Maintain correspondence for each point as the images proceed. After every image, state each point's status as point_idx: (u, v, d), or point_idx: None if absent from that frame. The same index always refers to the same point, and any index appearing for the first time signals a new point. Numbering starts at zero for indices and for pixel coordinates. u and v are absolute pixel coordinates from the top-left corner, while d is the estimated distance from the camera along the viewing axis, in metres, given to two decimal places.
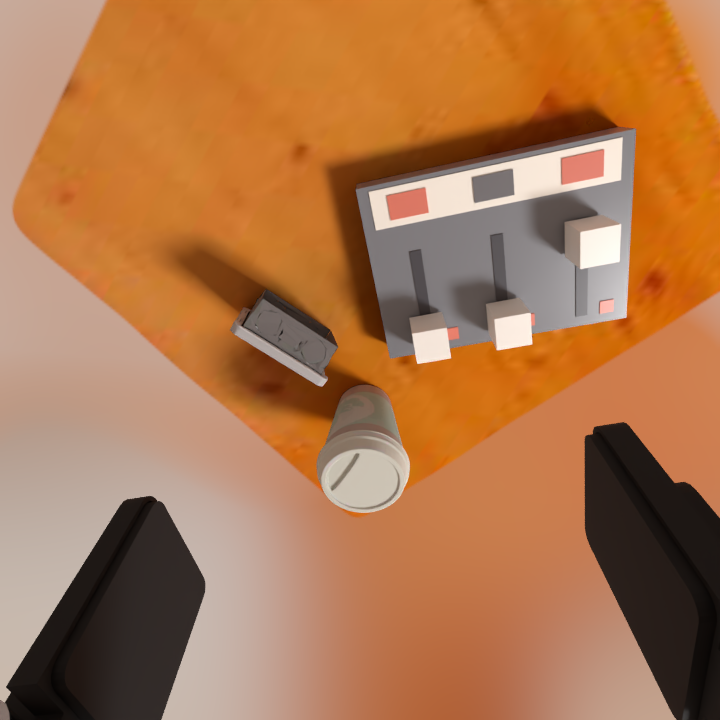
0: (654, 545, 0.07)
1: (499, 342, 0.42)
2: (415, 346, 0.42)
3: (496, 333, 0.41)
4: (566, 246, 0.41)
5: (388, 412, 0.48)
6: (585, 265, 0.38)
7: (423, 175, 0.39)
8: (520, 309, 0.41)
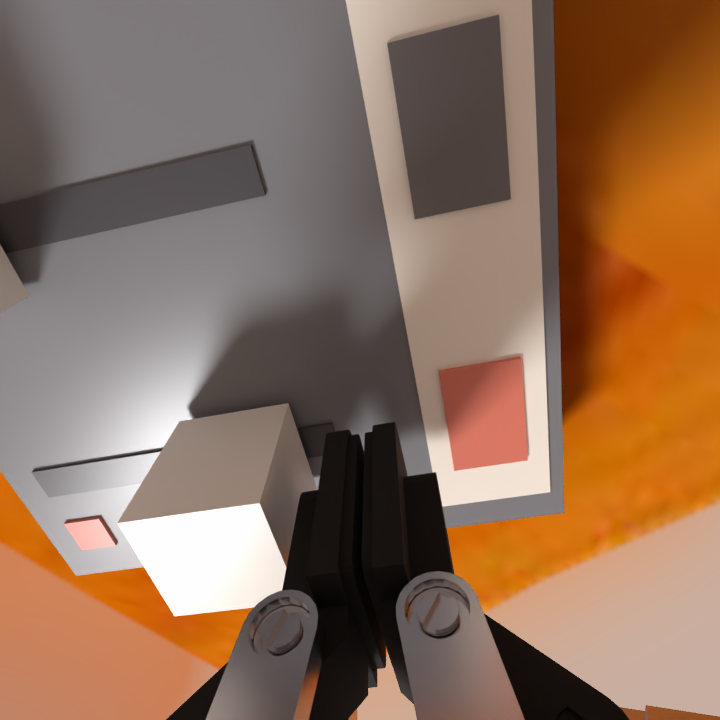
0: None
1: None
2: None
3: None
4: (211, 424, 0.12)
5: None
6: (134, 536, 0.10)
7: None
8: None
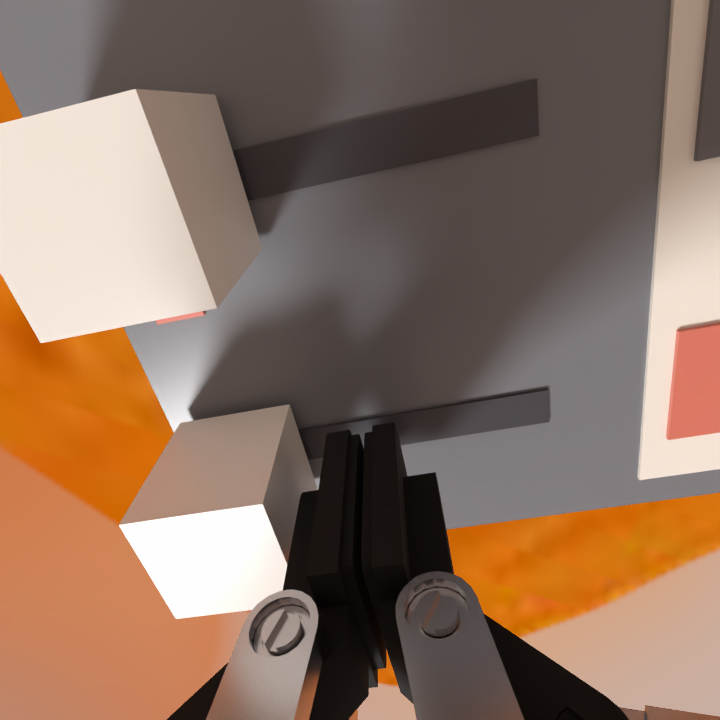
0: None
1: None
2: None
3: (40, 120, 0.06)
4: (212, 426, 0.12)
5: None
6: (136, 538, 0.10)
7: None
8: (221, 254, 0.08)
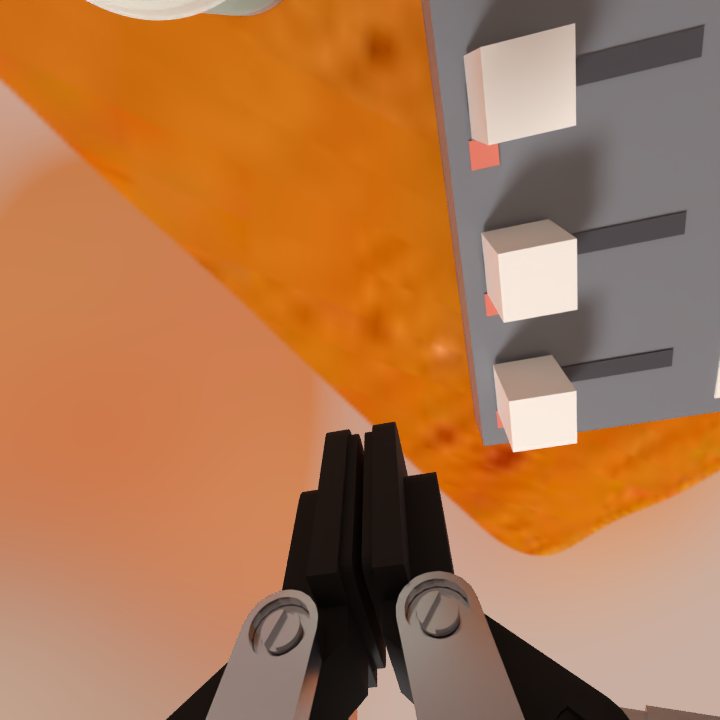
0: None
1: (515, 257, 0.19)
2: (534, 37, 0.16)
3: (540, 247, 0.19)
4: (514, 365, 0.25)
5: None
6: (513, 408, 0.22)
7: None
8: None
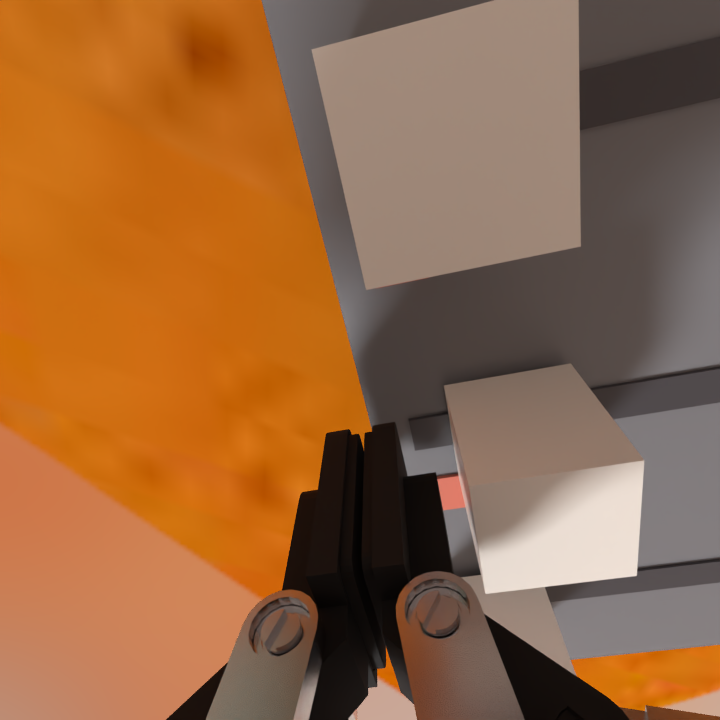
0: None
1: (508, 492, 0.09)
2: (463, 21, 0.05)
3: (562, 475, 0.08)
4: (475, 587, 0.15)
5: None
6: None
7: None
8: None
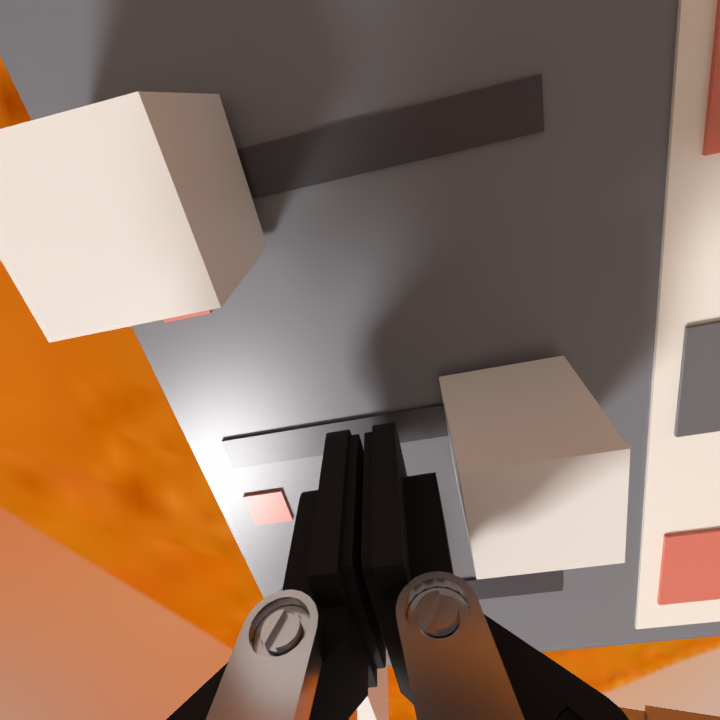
0: None
1: (497, 479, 0.09)
2: (54, 125, 0.06)
3: (550, 462, 0.09)
4: None
5: None
6: None
7: None
8: None
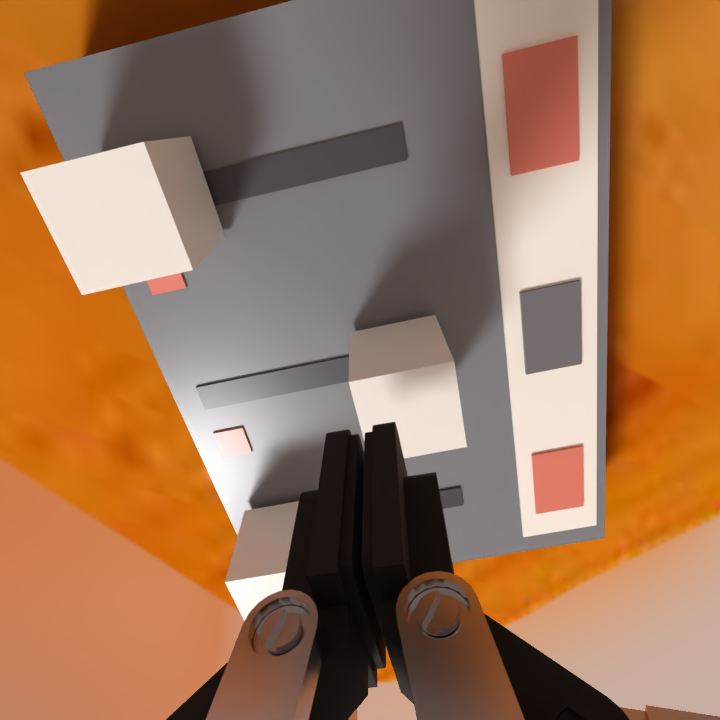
0: None
1: (374, 385, 0.14)
2: (93, 160, 0.11)
3: (405, 373, 0.13)
4: (266, 513, 0.20)
5: None
6: (233, 589, 0.17)
7: (606, 152, 0.15)
8: None
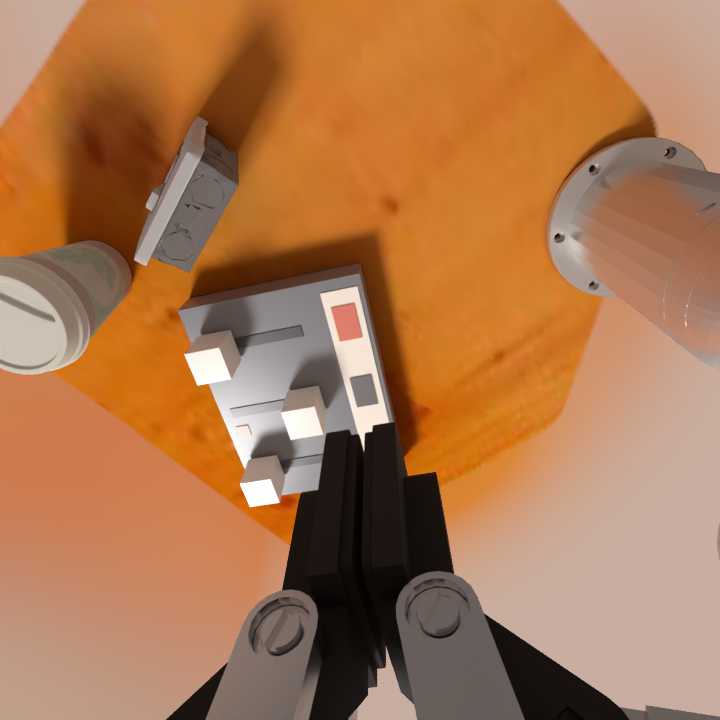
0: None
1: (289, 413, 0.42)
2: (204, 351, 0.39)
3: (299, 410, 0.41)
4: (257, 460, 0.48)
5: None
6: (243, 486, 0.46)
7: (372, 334, 0.42)
8: (322, 422, 0.43)
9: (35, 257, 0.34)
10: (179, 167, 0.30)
